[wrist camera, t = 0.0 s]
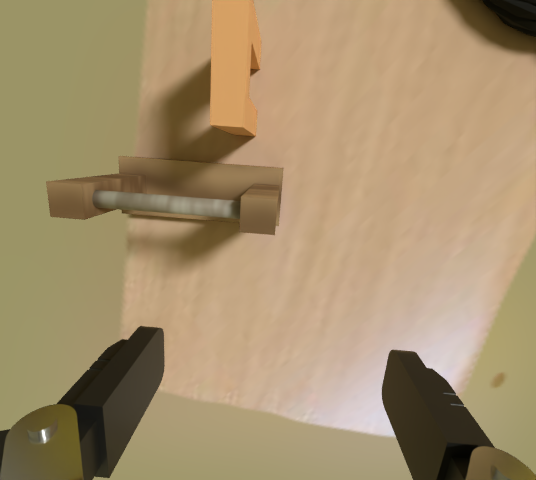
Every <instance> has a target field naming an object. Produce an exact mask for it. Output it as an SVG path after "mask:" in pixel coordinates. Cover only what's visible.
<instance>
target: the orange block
mask: <svg viewBox="0 0 536 480" xmlns="http://www.w3.org/2000/svg"><path fill="white" fill-rule="evenodd" d="M260 56H261V38H260V33H259V27H258V22H257V17H256V12H255V7H254V2H253V0H212V43H211V98H210V125H211V126H214V127H216V128H218V129H221V130H223V131H226V132H228V133H230V134H233V135H247V136H256V126H257V110H256V108H255V106H254V105H253V103H252V101H251V100H250V98H249V86H250V69H258V70H260Z"/></svg>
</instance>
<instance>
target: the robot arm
mask: <svg viewBox="0 0 536 480" xmlns="http://www.w3.org/2000/svg"><path fill="white" fill-rule="evenodd" d="M163 373H164V332H163V329H162V328H155V327H144V326H140V327H139V328H138V329H137V330H136V331H135V332H134V333H133V334H132V336H131V337H130V338H129V339H128V340H124V339H122V340H120V341H118V342H117V343H115V344H113V345H112V346H110V347H108V348H107V349H106V350H105V351H104V353H103V354H102V355H101V356H100V357H99V358H98V360H97V361H95V362H94V363H93V365H92V366H91V367H90V369H89V370H87V371H86V372H85V373H84V374H83V376H82V377H81V378H80V379H79V380H78V381H77V382H76V383H75V384H74V385H73V386H72V387H71V389H70V390H69V391H68V392H67V393H66V394H65V395H64V396H63V397H62V398H61V400H60V401H59V402H58V403H57V404H54V405H49V406H45V407H42V408H39V409H37V410H35V411H33V412H31V413H29V414H27V415H26V416H24V417H23V418H21V419H20V420H19V421H18V422H17V423H16V424H15V425H14V426H13V427H12V428H11V429H9V430H4V431H0V480H92V479H93V478H94V476H95V477H104V478H110V476H111V474H112V472H113V470H114V468H115V466H116V465H117V463H118V461H119V459H120V457H121V455H122V454H123V452H124V450H125V448H126V446H127V444H128V442H129V441H130V439H131V436H132V435H133V433H134V431H135V429H136V428H137V426H138V424H139V422H140V420H141V418H142V417H143V415H144V413H145V411H146V409H147V407H148V405H149V404H150V402H151V400H152V398H153V396H154V394H155V393H156V391H157V389H158V387H159V385H160V383H161V380H162V377H163ZM382 400H383V405H384V408H385V410H386V413H387V415H388V418H389V420H390V423H391V425H392V428H393V430H394V433H395V435H396V438H397V440H398V443H399V445H400V447H401V450H402V453H403V455H404V458H405V460H406V463H407V465H408V468H409V470H410V473H411V475H412V478H413V480H536V475H535V474H534V473H533V472H532V471H531V470H530V469H529V468H528V467H527V466H526V465H525V464H523V463H522V462H521V461H519V460H518V459H517V458H515V457H513V456H512V455H510V454H508V453H506V452H504V451H502V450H499V449H497V448H495V447H494V446H493V444H492V443H491V441H490V440H489V439H488V437H487V436H486V435H485V433H484V432H483V430H482V429H481V428H480V426H479V425H478V423H477V422H476V421H475V419H474V418H473V417H472V415H471V414H470V412H469V411H468V410H467V408H466V407H464V404H463V403H462V401H461V400H460V399H459V397H458V396H456V393H455V392H454V390H453V389H452V387H451V386H450V385H449V383H448V382H447V381H446V380H445V379H444V378H443V377H442V376H440V375H439V374H438V373H437V372H436V371H434V370H433V369H430V368H426V366H425V365H424V363H423V362H422V360H421V359H420V357H419V356H418V355H417V353H416V352H412V351H401V350H391V351H390V353H389V356H388V361H387V366H386V371H385V376H384V380H383V385H382Z"/></svg>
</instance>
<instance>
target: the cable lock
mask: <svg viewBox="0 0 536 480" xmlns="http://www.w3.org/2000/svg"><path fill="white" fill-rule="evenodd" d="M483 2H484V3H485V4H486V5H487V7H489V8H490V9H491V10H493V11H494V12H495V13H496V14H497V15H498V16H499V17H500V19H501V20H502V21H503V22H504V24H506V25H508V26H510V27H512V28H515V29H517V30H519V31H521V32H523V33H525V34H528V35H531V36H535V37H536V0H483Z"/></svg>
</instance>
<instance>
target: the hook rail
mask: <svg viewBox="0 0 536 480" xmlns="http://www.w3.org/2000/svg"><path fill="white" fill-rule="evenodd" d="M119 173H120V174H111V175H102V176H93V177H85V178H75V179H66V180H56V181H47V182H46V184H47V192H48V200H49V208H50V216H51V217H60V218H73V219H84V220H85V219H88V218H91V217H94V216H97V215H100V214H103V213H106V212H109V211H113V210H116V209H121V210H122V213H126V214H138V215H151V216H163V217H176V218H188V219H201V220H213V221H226V222H238V223H240V229H239V232H245V233H257V234H269V235H275V227H276V226H279V215H280V203H281V191H282V179H283V168H274V167H261V166H247V165H234V164H221V163H207V162H194V161H180V160H167V159H154V158H140V157H125V156H119Z"/></svg>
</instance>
